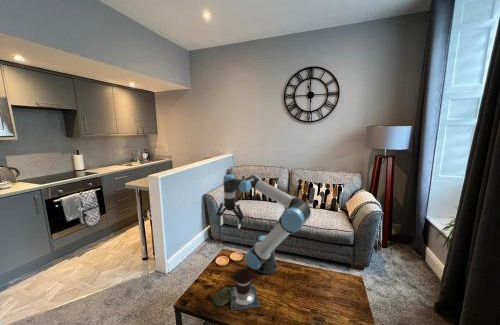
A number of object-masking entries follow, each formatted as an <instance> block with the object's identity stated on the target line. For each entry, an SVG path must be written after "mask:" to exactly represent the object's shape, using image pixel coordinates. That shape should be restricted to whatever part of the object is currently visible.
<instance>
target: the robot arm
mask: <svg viewBox="0 0 500 325" xmlns="http://www.w3.org/2000/svg"><path fill="white" fill-rule="evenodd" d="M222 181H223V201H224V202H223V201H222V202H220V203H219V206H218V210H217V212H216V216H218V220H219V223H220V224H219V225H220V226H223V225H224V217H223V216H224V215H223V214H224V213H225V212H226V211H231V212H233V213H234V215H235V216H236V218H238V219H237V229H239V230H240V228H241V224H242V222H243V220H244V218H245V216H244V214H243V211H242V209H241V206H240V204H236V191H237V192H241V193H249V192H250V191H251V189H254V190H256V191H257V192H260V193H261V194H262V195H265V196H266V197H269V199H272V200H274V201H275V202H277V203H279V204H280V205H282V206H284V207H286V208H287V209H285V210H284V212H283V213H282V214H281V216H280V217H279V218H278V223H277V224H276V225H275V226H274V227H273V228H272V229H271V230H270V231H269V233H267V235H260V236H259V237H258V240H257V242H256V243H255V244H254V245H253V246H252V247H251V249H250V250H248V251H247V252H246V253H245V256H244V260H245V263H246V264H247V266H248V267H249V268H251V269H253V270H257V272H259V273H260V274H263V275H272V274H274V273H276V271H277V269H278V264H277V263H278V262H277V261H276V255H275V254H276V252H275V251H276V248H277V247H278V246H279V245H280V244H281V243H282V242H283V241H284V240H285V239H286V238H287V237H288V236H289V235H293V234H295V233H297V231H298V230H300V229H301V228H302V227H303V226H304V224H305V223H306V222H307V221H308V220H309V219H310V218H311V207H310V206H309V204H308V203H307V202H306V201H304V200H303V199H302V198H299V197H298V196H296V195H294V196H292V195H290V194H289V193H286V192H284V191H283V190H280V189H279V188H277V187H275V186H273V185H271V184H269V183H267V182H265V181H263V180H261V179H260V177H259V175H257V174H253V175H250V176H247V177H244V178H242V179H237V178H236V177H235V175H234V174H232V173H231V174H225V175H224V176H223V180H222ZM221 210H222V211H221Z"/></svg>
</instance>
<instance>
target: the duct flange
mask: <svg viewBox="0 0 500 325" xmlns="http://www.w3.org/2000/svg"><path fill="white" fill-rule="evenodd" d="M228 288H229V289H230V290H231V297H230V301H229V303H230V310H231V312H233V311H241V310H246V309H254V308H260V302H259V297H258V292H257V290H256V286H255V284H251V286H250V295H249V298H248V299H246V300H241V299H239V298H238V296H237V290H236V286H233V287H232V286H231V287H228Z"/></svg>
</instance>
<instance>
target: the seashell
mask: <svg viewBox="0 0 500 325" xmlns="http://www.w3.org/2000/svg"><path fill="white" fill-rule="evenodd" d="M229 288H230V287H228V286H225V287H223V288H222V289H220V290H219V291H217V292H215V294H214V296H213V298H212V303H213V304H214V305H216V306H218V307H222V306H224V305H226V304H228V303H230V297H231V290H230V289H229Z"/></svg>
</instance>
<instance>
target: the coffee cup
mask: <svg viewBox="0 0 500 325" xmlns="http://www.w3.org/2000/svg"><path fill="white" fill-rule="evenodd" d="M252 276H253V275H252V273H251V271H249V270H247V269H245V268H241V269H240V270H238V271H237V272H235V274H234V280H235V287H236V290H237V296H238V298H239V299H241V300H246V299H248V298H249V295H250V286H251V285H252V284H251V283H252V278H253V277H252Z"/></svg>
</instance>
